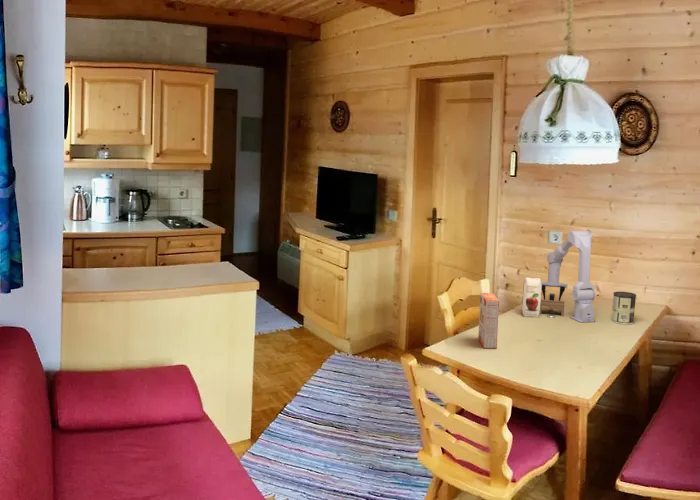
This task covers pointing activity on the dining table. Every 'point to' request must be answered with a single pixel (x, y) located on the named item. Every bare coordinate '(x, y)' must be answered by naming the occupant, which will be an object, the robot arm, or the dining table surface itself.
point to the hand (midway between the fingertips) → (551, 300)
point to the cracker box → (488, 320)
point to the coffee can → (623, 307)
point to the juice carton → (531, 297)
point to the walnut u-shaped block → (552, 306)
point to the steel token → (551, 316)
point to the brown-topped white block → (551, 299)
